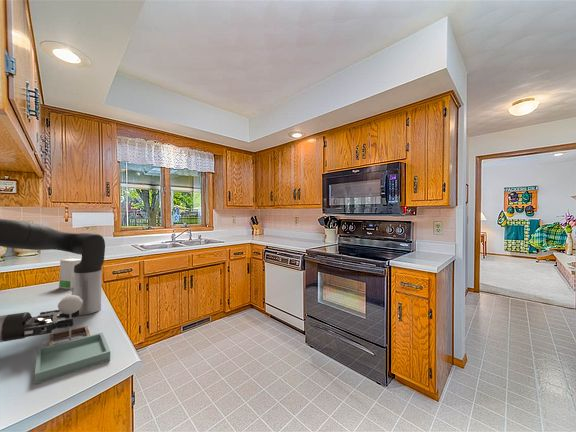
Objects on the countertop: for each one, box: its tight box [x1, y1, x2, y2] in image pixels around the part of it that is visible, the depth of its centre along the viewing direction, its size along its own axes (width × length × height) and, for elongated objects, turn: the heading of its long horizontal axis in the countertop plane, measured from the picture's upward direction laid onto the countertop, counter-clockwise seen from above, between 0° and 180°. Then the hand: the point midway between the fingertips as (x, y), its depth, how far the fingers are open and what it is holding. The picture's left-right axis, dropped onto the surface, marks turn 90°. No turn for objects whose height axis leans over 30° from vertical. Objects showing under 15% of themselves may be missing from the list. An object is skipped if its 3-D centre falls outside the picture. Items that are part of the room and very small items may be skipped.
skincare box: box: [58, 257, 82, 290], centre depth 139 cm, size 8×7×16 cm
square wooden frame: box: [49, 325, 91, 346], centre depth 81 cm, size 10×10×2 cm
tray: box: [34, 332, 111, 385], centre depth 71 cm, size 15×15×2 cm
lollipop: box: [57, 294, 83, 340], centre depth 81 cm, size 6×6×15 cm
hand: (76, 317), depth 82 cm, fingers open, 8 cm apart
